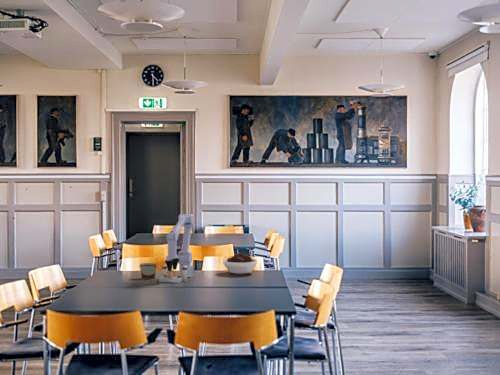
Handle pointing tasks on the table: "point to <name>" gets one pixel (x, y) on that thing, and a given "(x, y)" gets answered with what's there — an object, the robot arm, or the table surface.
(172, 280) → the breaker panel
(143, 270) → the food container
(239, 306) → the table surface
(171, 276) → the block
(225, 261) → the white bowl
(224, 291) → the table surface
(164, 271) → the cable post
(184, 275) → the cable post
